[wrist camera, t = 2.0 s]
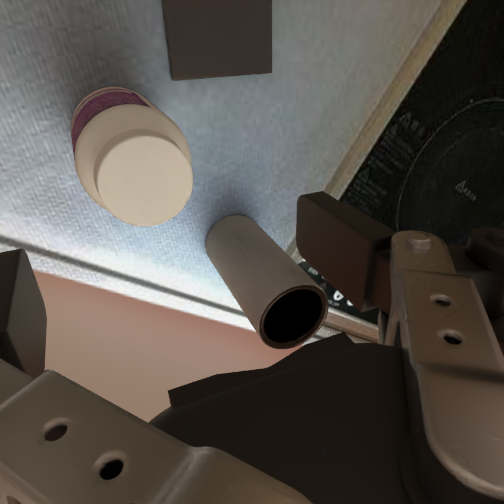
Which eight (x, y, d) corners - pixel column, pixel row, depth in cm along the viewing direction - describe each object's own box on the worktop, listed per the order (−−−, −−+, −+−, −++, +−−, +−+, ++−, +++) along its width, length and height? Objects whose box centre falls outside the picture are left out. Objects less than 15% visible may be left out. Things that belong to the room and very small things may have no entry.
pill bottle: (59, 158, 24) (58, 223, 16) (85, 69, 22) (99, 92, 14) (147, 186, 26) (182, 253, 19) (175, 109, 25) (227, 146, 17)
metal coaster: (155, -55, 21) (157, -57, 20) (268, -52, 23) (271, -53, 22) (171, 80, 24) (173, 80, 24) (269, 72, 26) (272, 72, 26)
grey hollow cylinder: (227, 203, 29) (292, 273, 21) (270, 229, 32) (343, 300, 24) (193, 252, 30) (243, 338, 22) (238, 274, 33) (298, 358, 24)
